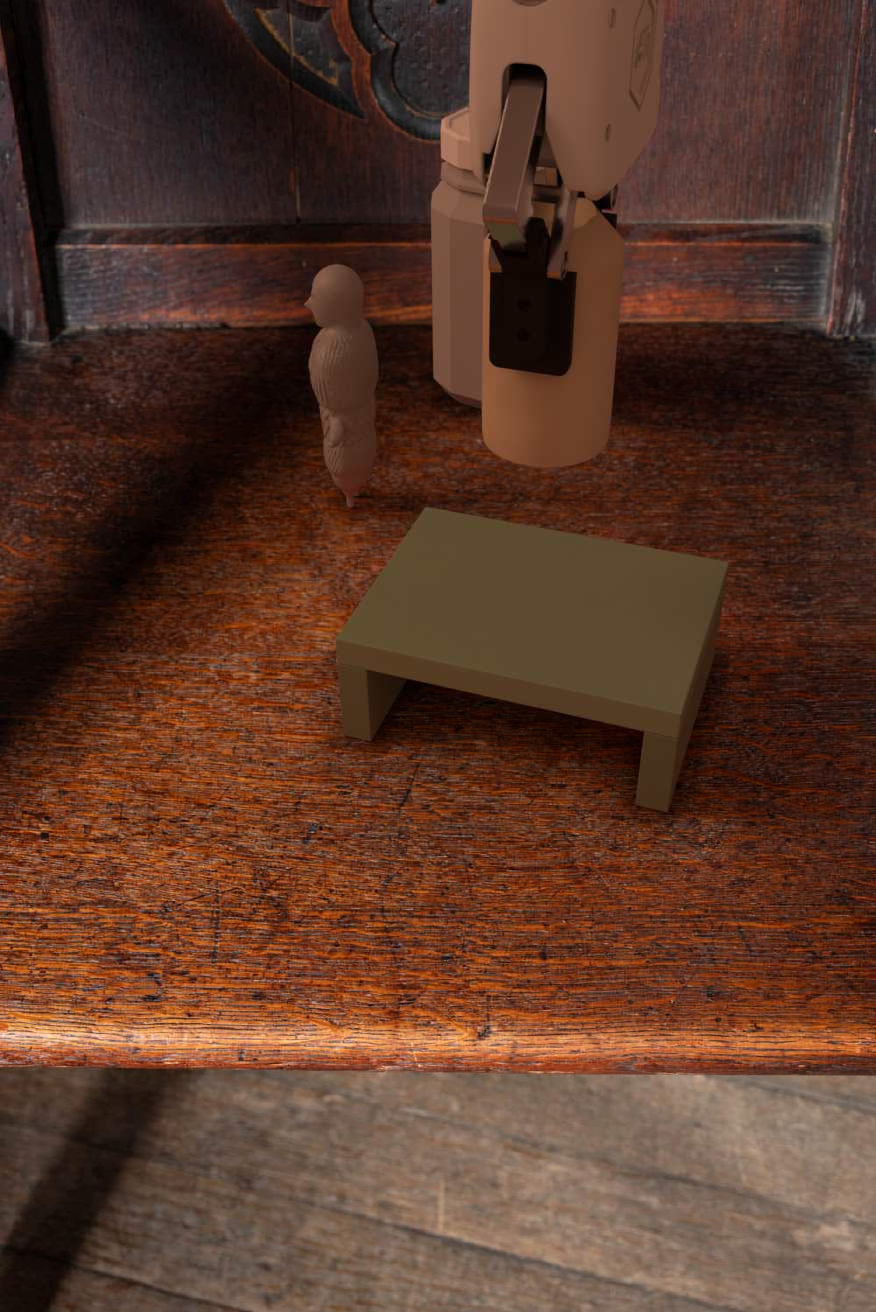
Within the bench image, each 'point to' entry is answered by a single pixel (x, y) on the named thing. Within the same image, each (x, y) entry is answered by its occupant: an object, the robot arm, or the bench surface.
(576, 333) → the candle
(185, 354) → the bench surface
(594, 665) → the shelf
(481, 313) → the jar
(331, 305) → the figurine
